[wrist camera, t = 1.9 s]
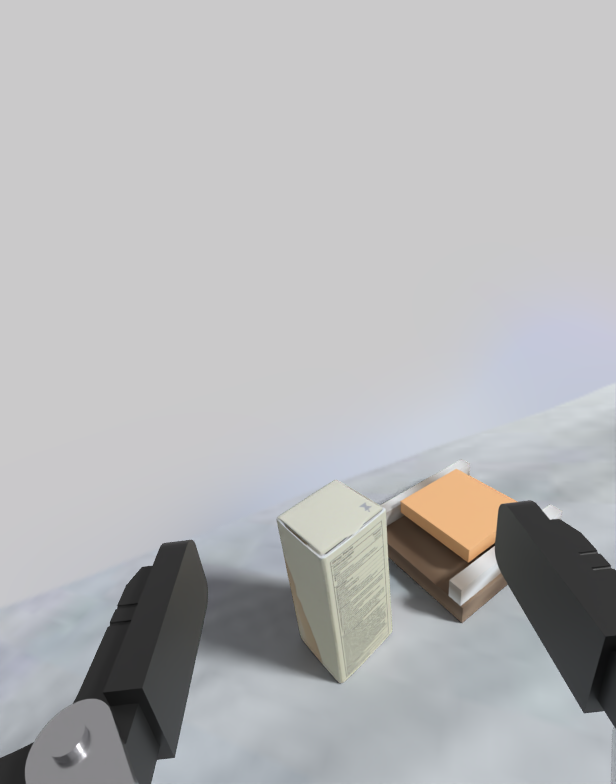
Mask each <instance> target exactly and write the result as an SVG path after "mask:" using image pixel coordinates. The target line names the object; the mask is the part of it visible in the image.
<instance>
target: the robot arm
mask: <svg viewBox="0 0 616 784" xmlns="http://www.w3.org/2000/svg"><path fill="white" fill-rule="evenodd" d="M495 557H496V561H497V564H498V567H499V569H500V572H501V574H502V575H503V577H504V579H505V580H506V582H507V584H508V585H509V587H510V589H511V591H512V592H513V594H514V596H515V597H516V599H517V601H518V602H519V604H520V606H521V607H522V609H523V611H524V613H525V614H526V616H527V618H528V619H529V621H530V623H531V624H532V626H533V628H534V630H535V631H536V633H537V635H538V636H539V638H540V640H541V641H542V643H543V645H544V646H545V648H546V650H547V652H548V653H549V655H550V657H551V658H552V660H553V662H554V663H555V665H556V667H557V668H558V670H559V672H560V674H561V675H562V677H563V679H564V680H565V682H566V684H567V685H568V687H569V689H570V690H571V692H572V694H573V696H574V697H575V699H576V701H577V702H578V704H579V706H580V707H581V709H582V711H583V712H584V713H591V712H600V711H605V713H606V714H607V716H608V717H609V719H610V721H611V722H612V724H613V725H614V728H613V732H612V761H611V784H616V570H615V569H612V568H611V565H610V564H609V563H608V562H607V561H606V560H605V558H604V557H603V556H602V555H601V554H598V553H597V550H596V549H595V548H594V546H593V545H592V544H591V543H590V542H589V541H588V540H587V539H586V538H585V537H584V536H583V534H582V533H581V532H579V531H577V530H576V529H574V528H573V527H571V526H570V525H568V524H566V523H565V522H563V521H562V520H560V519H552V520H550V519H549V518H548V517H547V515H546V514H545V513H544V512H543V511H542V510H541V508H540V507H539V506H538V505H537V504H536V503H535V502H533V501H522V502H513V503H505V504H501V505H500V506H499V509H498V518H497V528H496V538H495ZM207 602H208V587H207V581H206V577H205V574H204V571H203V568H202V564H201V561H200V558H199V554H198V551H197V548H196V545H195V542H194V541H193V540H186V541H177V542H169V543H164V544H162V545H161V547H160V549H159V551H158V554H157V556H156V559H155V561H154V564H153V566H147V567H142V568H141V569H140V570H139V571H138V572H137V574H136V575H135V576H134V577H133V578H132V579H131V580H130V582H129V583H128V584H127V585H126V587H125V589H124V592H123V594H122V596H121V598H120V601H119V603H118V605H117V606H118V608H117V609H116V610H115V612H114V614H113V616H112V619H111V621H110V626H109V627H108V628H107V630H106V632H105V635H104V637H103V639H102V641H101V644H100V646H99V648H98V650H97V653H96V655H95V657H94V659H93V662H92V664H91V666H90V668H89V671H88V673H87V675H86V677H85V680H84V682H83V684H82V686H81V689H80V691H79V693H78V695H77V697H76V699H75V701H74V703H73V704H72V705H70V706H68V707H67V708H65V709H63V710H62V711H61V712H59V713H58V714H57V715H56V716H55V717H54V718H53V719H52V720H50V721H49V723H48V724H47V725H46V726H45V727H44V728H43V730H42V731H41V732H40V734H39V735H38V736H37V738H36V740H35V741H34V742H33V743H31V744H30V745H28V746H26V747H24V748H22V749H19V750H17V751H15V752H13V753H11V754H9V755H6V756H4V757H2V758H0V784H151V781H152V777H153V773H154V769H155V765H156V761H157V760H159V759H167V758H175V754H176V749H177V744H178V740H179V735H180V730H181V725H182V721H183V716H184V711H185V707H186V702H187V697H188V693H189V688H190V683H191V679H192V674H193V669H194V665H195V660H196V655H197V651H198V646H199V641H200V637H201V632H202V627H203V622H204V618H205V613H206V608H207Z"/></svg>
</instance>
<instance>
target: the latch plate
mask: <svg viewBox="0 0 616 784" xmlns="http://www.w3.org/2000/svg"><path fill="white" fill-rule="evenodd" d="M513 502H517V501H515V500H513V499H512V498H510V497H508V496H506V495H504V494H502V493H500V492H499V491H497V490H495V489H493V488H491V487H489V486H488V485H486V484H484V483H482V482H480V481H478V480H476V479H475V478H473V477H471V476H469V475H467V474H465V473H464V472H462V471H460V470H458V469H455V470H453V471H451V472H450V473H448V474H446V475H445V476H443V477H441V478H439V479H438V480H436V481H434V482H432V483H431V484H429V485H427V486H426V487H424V488H422V489H420V490H419V491H417V492H415V493H413V494H412V495H410V496H408V497H407V498H405V499H403V500H401V501H400V503H401V513H402V514H404V515H405V516H406V517H408V518H409V519H410V520H412V521H413V522H414V523H416V524H417V525H418V526H420V527H421V528H422V529H424V530H425V531H427V532H428V533H429V534H431V535H432V536H433V537H435V538H436V539H437V540H439V541H440V542H441V543H443V544H444V545H445V546H447V547H448V548H449V549H451V550H452V551H453V552H455V553H456V554H457V555H459V556H460V557H461V558H463V559H464V560H465V561H467V562H470V561H471V560H472V559H474V558H475V557H476V556H478V555H479V554H480V553H482V552H483V551H484V550H486V549H487V548H488V547H490V546H491V545H492V544H494V543H495V538H496V528H497V518H498V509H499V506H500V505H501V504H505V503H513Z"/></svg>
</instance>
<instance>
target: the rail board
mask: <svg viewBox="0 0 616 784" xmlns="http://www.w3.org/2000/svg"><path fill="white" fill-rule="evenodd" d="M455 469H458V470H460V471H462V472H464V473H465V474H467V475H469V472H470V463H468V462H466V461H464V460H462V459H461V460H459V461H457V462H455V463H454V464H452V465H450V466H448V467H447V468H445V469H443V470H441V471H440V472H438V473H436V474H434V475H432V476H431V477H429V478H427V479H425V480H424V481H422V482H420V483H418V484H417V485H415V486H413V487H411V488H410V489H408V490H406V491H404V492H403V493H401V494H399V495H397V496H396V497H394V498H392V499H390V500H389V501H387V502H385V503H383V504H381V505H380V506H382V507H384V508H385V510H386V525H387V544H388V557H389V558H390V559H391V560H392V561H393V562H395V563H396V564H397V565H398V566H399V567H400V568H401V569H402V570H403V571H405V572H406V573H407V574H408V575H409V576H410V577H411V578H412V579H413V580H415V581H416V582H417V583H418V584H419V585H420V586H421V587H422V588H423V589H425V590H426V591H427V592H428V593H429V594H430V595H431V596H432V597H433V598H435V599H436V600H437V601H438V602H439V603H440V604H441V605H442V606H443V607H445V608H446V609H447V610H448V611H449V612H450V613H451V614H452V615H453V616H455V617H456V618H457V619H458V620H459V621H460V622H461V623H463V622H464V621H465V620H466V619H467V618H469V617H470V616H471V615H472V614H473V613H475V612H476V611H477V610H478V609H479V608H480V607H482V606H483V605H484V604H485V603H486V602H488V601H489V600H490V599H491V598H492V597H493V596H495V595H496V594H497V593H498V592H499V591H501V590H502V589H503V588H504V587H505V586H506V585H508V584H507V582H506V580H505V579H504V577H503V575H502V574H501V572H500V569H499V567H498V564H497V561H496V557H495V543H494V544H492V545H491V546H490V547H488V548H487V549H486V550H484V551H483V552H482V553H480V554H479V555H478V556H476V557H475V558H474V559H472V560H471V561H470V562H467V561H465V560H464V559H463V558H461V557H460V556H459V555H457V554H456V553H455V552H453V551H452V550H451V549H449V548H448V547H447V546H445V545H444V544H443V543H441V542H440V541H439V540H437V539H436V538H435V537H433V536H432V535H431V534H429V533H428V532H427V531H425V530H424V529H422V528H421V527H420V526H418V525H417V524H416V523H414V522H413V521H412V520H410V519H409V518H408V517H406V516H405V515H404V514H402V513H401V503H400V501H401V500H403V499H405V498H407V497H408V496H410V495H412V494H413V493H415V492H417V491H419V490H420V489H422V488H424V487H426V486H427V485H429V484H431V483H432V482H434V481H436V480H438V479H439V478H441V477H443V476H445V475H446V474H448V473H450V472H451V471H453V470H455ZM542 511H543V512H544V513H545V514H546V515H547V517H548V518H549V519H550V520H552V519H560V520H561V515H562V510H560V509H558V508H556V507H554V506H552V505H550V504H549V505H548V506H547V507H546V508H544V509H543V510H542Z"/></svg>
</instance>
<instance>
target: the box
mask: <svg viewBox="0 0 616 784" xmlns="http://www.w3.org/2000/svg"><path fill="white" fill-rule="evenodd" d="M277 524H278V529H279V534H280V539H281V544H282V548H283V553H284V558H285V563H286V568H287V573H288V578H289V583H290V587H291V592H292V597H293V602H294V607H295V612H296V617H297V622H298V627H299V632H300V636H301V638H302V640H303V641H304V642H305V644H306V645H307V646H308V647H309V649H310V650H311V651H312V652H313V654H314V655H315V656H316V657H317V658H318V660H319V661H320V662H321V663H322V664H323V665H324V667H325V668H326V669H327V670H328V671H329V672H330V673H331V674H332V676H333V677H334V678H335V679H336V680H337V681H338V682H339V683H343V682H345V681H346V680H347V679H348V678H349V677H350V676H351V675H352V674H353V673H354V672H355V671H356V670H357V669H358V668H359V667H360V666H361V665H362V664H363V663H364V662H365V661H366V660H367V659H368V658H369V657H370V655H371V654H372V653H373V652H374V651H375V650H376V649H377V648H378V647H379V646H380V645H381V644H382V643H383V642H384V640H385V639H386V638H387V637H388V636H389V635H390V634H391V633H392V617H391V599H390V580H389V563H388V544H387V525H386V510H385V508H384V507H382V506H380V505H379V504H377V503H375V502H374V501H372V500H371V499H369V498H367V497H366V496H364V495H362V494H361V493H359V492H357V491H356V490H354V489H352V488H350V487H349V486H347V485H345V484H343V483H342V482H340V481H338V480H334V481H332V482H331V483H329V484H327V485H326V486H324V487H323V488H321V489H319V490H318V491H316V492H315V493H313V494H312V495H310V496H308V497H307V498H305V499H304V500H302V501H301V502H299V503H298V504H296V505H295V506H293V507H292V508H290V509H289V510H287V511H286V512H284V513H283V514H281V515H280V516H278V517H277Z"/></svg>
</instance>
